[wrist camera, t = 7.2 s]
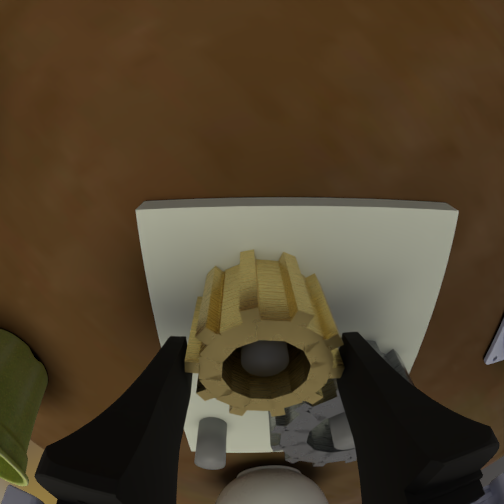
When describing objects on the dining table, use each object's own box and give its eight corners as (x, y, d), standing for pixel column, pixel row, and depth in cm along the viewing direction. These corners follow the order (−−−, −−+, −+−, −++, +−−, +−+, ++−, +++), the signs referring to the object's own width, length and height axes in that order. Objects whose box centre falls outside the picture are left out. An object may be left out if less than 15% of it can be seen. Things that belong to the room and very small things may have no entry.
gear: (419, 333, 15) (442, 370, 12) (382, 420, 19) (393, 453, 16) (270, 345, 15) (274, 392, 12) (266, 432, 19) (268, 470, 16)
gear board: (445, 202, 13) (507, 243, 9) (372, 428, 21) (387, 477, 17) (144, 201, 13) (99, 247, 9) (192, 438, 21) (186, 491, 16)
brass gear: (334, 256, 13) (365, 312, 9) (309, 353, 15) (323, 416, 12) (198, 244, 13) (182, 301, 9) (197, 347, 15) (187, 411, 11)
